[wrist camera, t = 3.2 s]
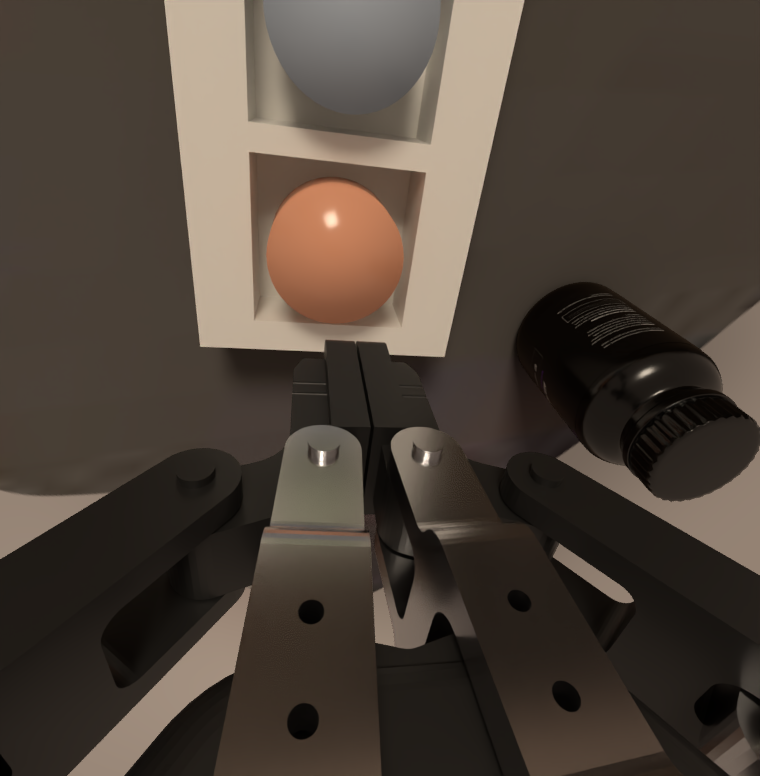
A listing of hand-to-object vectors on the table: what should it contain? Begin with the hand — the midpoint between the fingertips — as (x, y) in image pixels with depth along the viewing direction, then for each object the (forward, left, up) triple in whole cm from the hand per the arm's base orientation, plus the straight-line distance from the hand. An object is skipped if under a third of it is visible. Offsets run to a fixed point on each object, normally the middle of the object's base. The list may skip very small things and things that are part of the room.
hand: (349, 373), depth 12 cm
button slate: (-8, 0, -11) cm, 14 cm away
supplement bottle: (+5, +15, -14) cm, 21 cm away
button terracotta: (0, 0, -11) cm, 11 cm away
